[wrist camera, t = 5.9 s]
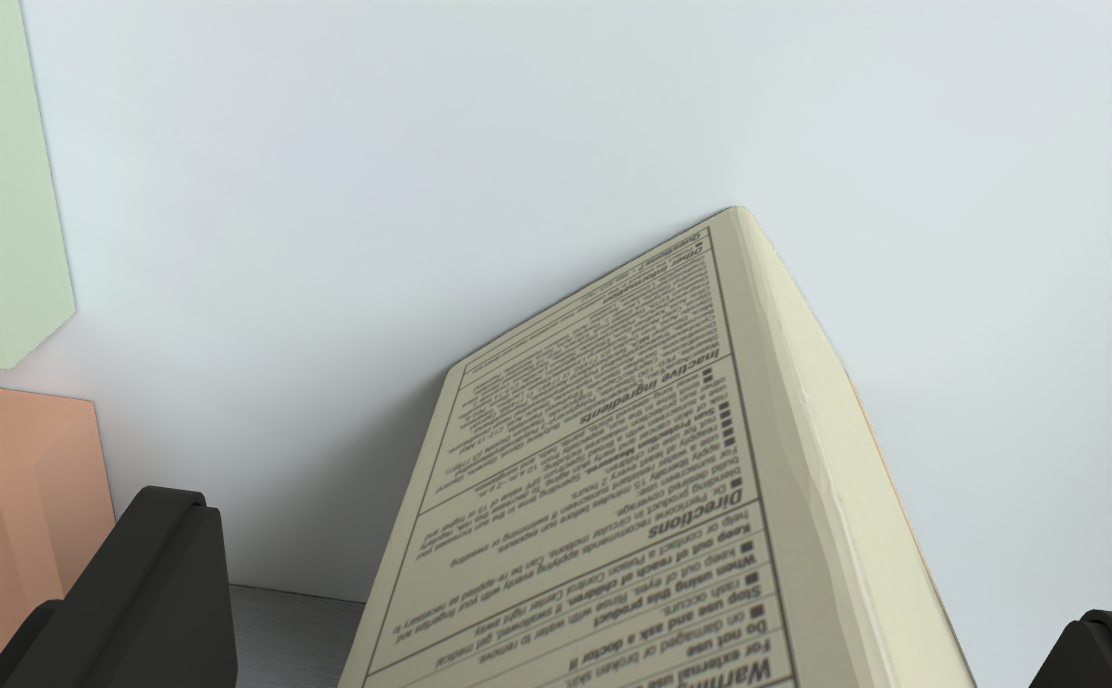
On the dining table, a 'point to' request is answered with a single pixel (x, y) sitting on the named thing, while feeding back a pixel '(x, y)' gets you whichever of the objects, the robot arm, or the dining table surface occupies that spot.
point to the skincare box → (657, 501)
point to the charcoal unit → (291, 638)
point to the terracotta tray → (47, 500)
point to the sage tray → (26, 208)
